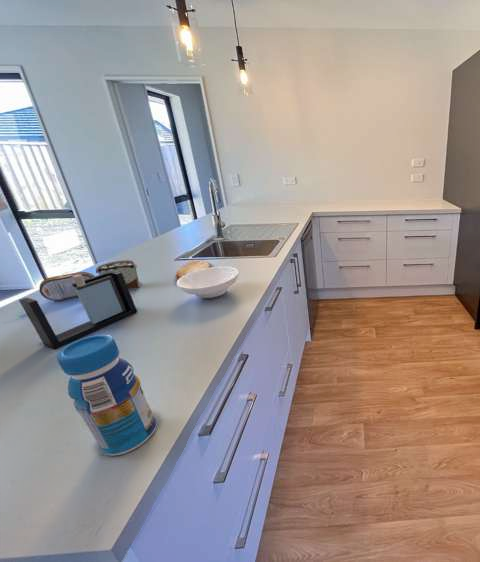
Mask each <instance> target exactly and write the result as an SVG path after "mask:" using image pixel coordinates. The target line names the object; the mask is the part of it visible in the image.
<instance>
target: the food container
mask: <svg viewBox="0 0 480 562" xmlns="http://www.w3.org/2000/svg"><path fill="white" fill-rule="evenodd" d="M137 269H138V265H137V263H136V262H135V261H134V260H130V259H124V260H123V259H122V260H117V261H115V260H114V261H110V262H107V263H103V264H101V265H98V266H96V267H95V274H98V275H101V274H104V273H106V272H108V271H111V270H112V271H117V272H122V275H123V277H124V280H125V282H126V285H127V287H128V290H129V291H130V290H136V289H141V285H140V281H139V275H138V271H137Z"/></svg>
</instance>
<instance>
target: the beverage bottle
mask: <svg viewBox="0 0 480 562" xmlns="http://www.w3.org/2000/svg"><path fill="white" fill-rule="evenodd" d="M56 360H57V363H58V364H59V366H60V368H61V370H62V372H63V373H64V374H65V375H66V376H68V377H69V379H68V383H67V384H68V385H67V394H68V397H69V398H70V399H72V400H74V401H73V406H74V408H75V411H76V412H77V413H78V414H79V415H80V417H81V418H82V420H83V422H84V423H85V425H86V426H87V428H88V430H89V432H90V433H91V435H92V436H93V438H94V440H95V441H96V444H97V446H98V447H99V449H100V451H101V452H102V453H103V454H104V455H106V456H121V455H125V454H127V453H129V452H132V451H134V450H136V449H137V448H139V447H140V446H142V445H143V444H144V443H146V442H147V441H148V439H150V438H151V437H152V436H153V434H154V433H155V431H156V429H157V424H158V423H157V419H156V417H155V415H154V413H153V411H152V409H151V407H150V404H149V402H148V399H147V397H146V394H145V392H144V390H143V388H142V385H141V381H140V378H139V377H138V375H137V374H136V373H135V372H134V371H135V370H134V367H133V366H132V364H131V363H130V362H129V361H127V360H125V359H124V358H122V357H120V350H119V348H118V344H117V343H116V341H115V339H114V337H113V336H111V335H109V334H96V335H95V334H94V335H90V336H87V337H86V336H85V337H82V338H79V339H77V340H75V341H73V342H70V343H68V344H66V345H65V346H64V347H63V348H61V349H60V350H59V351H58V352H57V354H56Z"/></svg>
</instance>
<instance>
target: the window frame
mask: <svg viewBox="0 0 480 562" xmlns="http://www.w3.org/2000/svg"><path fill="white" fill-rule="evenodd" d="M94 276H95V277H92V278H88V279H85V280H84V281H85V284H86V283H89V282H92V281H95V280H98V279H101V278H104V277H107V276H112V278H113V280H114V283H115V285H116V287H117V290H118V292H119V295H120V297H121V300H122V302H123V304H124V307H125V309H126V311H124V312H121V313H118V314H116V315H114V316H111V317H109V318H107V319H104V320H102V321H100V322H98V323H95V324H92V322H91V320H90V317H89V315H88V313H87V311H86V309H85V307H84V305H83V303H82V301H81V299H80V296H79V294H78V292H77V290H76V289H75V291H76V293H77V295H78V296H77V297H78V299H79V300H80V303H81V305H82V307H83V309H84V311H85V314H86V317H88V320H89V321H86V322H84V323H82V324H78V325H77V326H75V327H72V328H69V329H67V330H65V331H63V332H60V333H58V334H56V333H55V331H54V329H53V328H52V326H51V324H50V322H49V321H48V319H47V316H46V315H45V313H44V311H43V310H42V307H41V305H40V304H39V302H38V300H36V299H33V298H30V297H23V298H20V299H18V301H19V303H20V305H21V307H22V308H23V311H24V312H25V314H26V315H27V318H28V319H29V321H30V322H31V325H32V326H33V327H34V329H35V331H36V334H37V335H38V337H39V338H40V340H41V342H42V344H43V345H44V347H47V348H49V349H52V350H57V349H59V348H62V347H63V346H64V347H65V346H67V345H69V344H71V343H73V342H75V341H77V340H80V339H82V338H85V337H86V336H88V335H91V334H92V333H94V332H97V331H99V330H101V329H103V328H106V327H108V326H110V325H112V324H114V323H117V322H119V321H122V320H123V319H125V318H128V317H130V316H132V315H135V314H136V313H138V310H137V307H136V305H135V303H134V300H133V298H132V294H131V293H130V290H128V287H127V285H126V282H125V280H124V277H123V275H122V272H117V271H112V270H111V271H108V272H106V273H104V274H101V275H99V274H97V275H94ZM72 286H73V287H74V288H75V287H77V285H76V283H73V284H72Z"/></svg>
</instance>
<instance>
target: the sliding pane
mask: <svg viewBox="0 0 480 562" xmlns="http://www.w3.org/2000/svg"><path fill="white" fill-rule="evenodd" d="M73 278H74V281H75V283H76V285H77V287H75V289H76V290H77V292H78V294H79V296H80V299H81V301H82V303H83V305H84V307H85V309H86V311H87V313H88V315H89V317H90V320H91V322H92V324H95V323H98V322H100V321H102V320H104V319H107V318H109V317H111V316H114V315H116V314H118V313H121V312H124V311H126V309H125V307H124V304H123V302H122V300H121V297H120V295H119V292H118V290H117V287H116V285H115V283H114V280H113V278H112V276H107V277H104V278H101V279H98V280H95V281H92V282H89V283H86V284H85V281H84V279H83V277H82V275H75V276H73ZM80 299H79V300H80ZM81 301H80V302H81ZM82 303H81V304H82ZM83 305H82V306H83ZM84 307H83V308H84ZM85 309H84V310H85ZM86 311H85V312H86ZM90 320H89V321H90Z"/></svg>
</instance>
